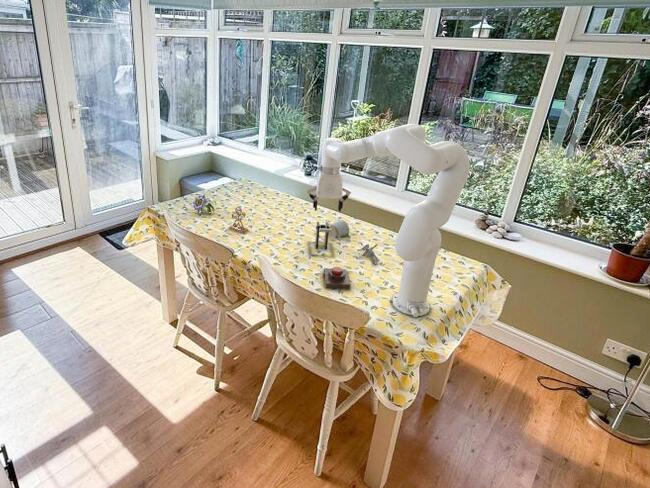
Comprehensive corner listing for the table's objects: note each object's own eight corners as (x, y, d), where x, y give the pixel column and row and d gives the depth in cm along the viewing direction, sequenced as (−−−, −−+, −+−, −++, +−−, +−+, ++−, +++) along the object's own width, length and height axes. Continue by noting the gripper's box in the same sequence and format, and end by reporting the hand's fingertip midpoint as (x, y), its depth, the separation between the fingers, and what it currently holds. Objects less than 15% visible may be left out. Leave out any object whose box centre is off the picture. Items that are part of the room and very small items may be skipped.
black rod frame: (333, 256, 179) (336, 230, 174) (310, 255, 180) (312, 229, 175) (330, 243, 190) (332, 218, 185) (308, 242, 191) (310, 217, 186)
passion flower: (198, 222, 222) (185, 204, 221) (210, 212, 230) (199, 194, 228) (209, 216, 214) (196, 197, 213) (222, 206, 221) (209, 188, 220)
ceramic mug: (325, 236, 197) (326, 221, 194) (337, 231, 202) (338, 217, 199) (342, 245, 190) (343, 230, 186) (353, 240, 194) (355, 225, 191)
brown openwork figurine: (229, 228, 204) (228, 206, 199) (233, 225, 207) (233, 203, 202) (243, 233, 199) (243, 210, 194) (248, 230, 202) (248, 208, 197)
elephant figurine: (365, 267, 172) (353, 251, 178) (369, 271, 176) (357, 256, 182) (385, 252, 171) (372, 237, 176) (388, 257, 175) (376, 242, 181)
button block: (349, 289, 156) (350, 280, 155) (325, 288, 157) (326, 279, 156) (345, 273, 167) (346, 265, 165) (323, 272, 167) (324, 264, 166)
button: (342, 275, 159) (342, 271, 158) (332, 275, 159) (333, 271, 158) (341, 270, 162) (341, 266, 161) (331, 270, 162) (332, 266, 162)
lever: (331, 233, 170) (331, 228, 170) (319, 233, 170) (319, 227, 170) (327, 230, 182) (328, 224, 182) (316, 229, 182) (316, 224, 182)
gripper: (309, 172, 158) (306, 212, 165) (354, 173, 157) (350, 214, 164) (308, 166, 165) (305, 205, 172) (351, 167, 164) (347, 206, 171)
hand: (327, 209), depth 168 cm, fingers open, 9 cm apart
